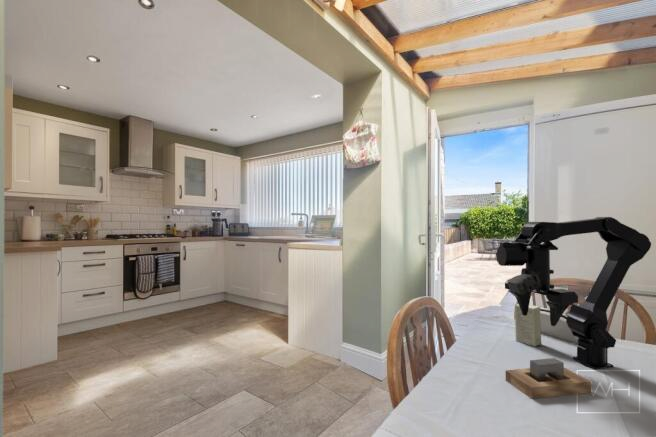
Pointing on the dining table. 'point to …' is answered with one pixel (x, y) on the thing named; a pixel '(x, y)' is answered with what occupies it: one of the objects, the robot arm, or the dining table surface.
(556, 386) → the two-slot wooden tray
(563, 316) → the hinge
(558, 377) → the clip
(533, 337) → the skincare box
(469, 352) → the dining table surface
